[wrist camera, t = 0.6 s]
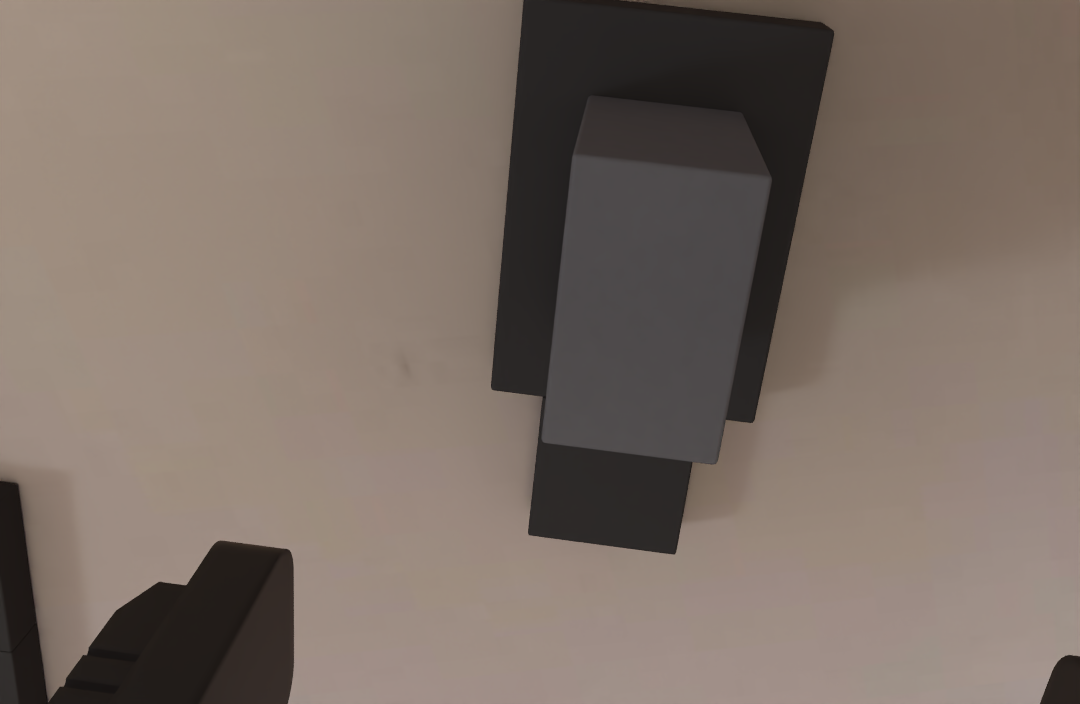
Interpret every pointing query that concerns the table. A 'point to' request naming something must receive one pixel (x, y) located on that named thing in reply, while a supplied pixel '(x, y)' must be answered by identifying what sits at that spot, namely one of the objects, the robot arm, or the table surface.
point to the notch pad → (17, 611)
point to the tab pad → (542, 205)
